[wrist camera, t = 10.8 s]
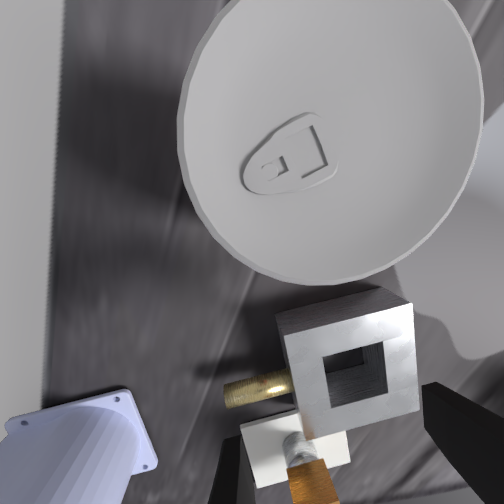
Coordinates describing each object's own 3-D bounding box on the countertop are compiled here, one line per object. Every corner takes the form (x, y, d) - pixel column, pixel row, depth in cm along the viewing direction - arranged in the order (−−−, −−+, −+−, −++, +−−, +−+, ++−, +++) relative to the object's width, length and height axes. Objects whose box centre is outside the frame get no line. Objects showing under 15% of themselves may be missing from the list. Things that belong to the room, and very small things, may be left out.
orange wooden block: (317, 463, 22) (349, 560, 16) (288, 471, 21) (310, 572, 16) (307, 415, 20) (339, 500, 14) (276, 423, 20) (295, 513, 14)
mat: (257, 483, 22) (257, 488, 22) (240, 424, 20) (240, 428, 20) (348, 457, 22) (350, 462, 22) (338, 398, 21) (340, 401, 20)
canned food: (187, 177, 16) (98, 125, 5) (274, 93, 15) (379, -162, 5) (261, 257, 18) (311, 343, 7) (342, 184, 17) (537, 151, 6)
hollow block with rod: (238, 420, 20) (240, 459, 17) (212, 328, 18) (209, 354, 15) (391, 379, 21) (419, 410, 18) (381, 286, 19) (412, 303, 16)
